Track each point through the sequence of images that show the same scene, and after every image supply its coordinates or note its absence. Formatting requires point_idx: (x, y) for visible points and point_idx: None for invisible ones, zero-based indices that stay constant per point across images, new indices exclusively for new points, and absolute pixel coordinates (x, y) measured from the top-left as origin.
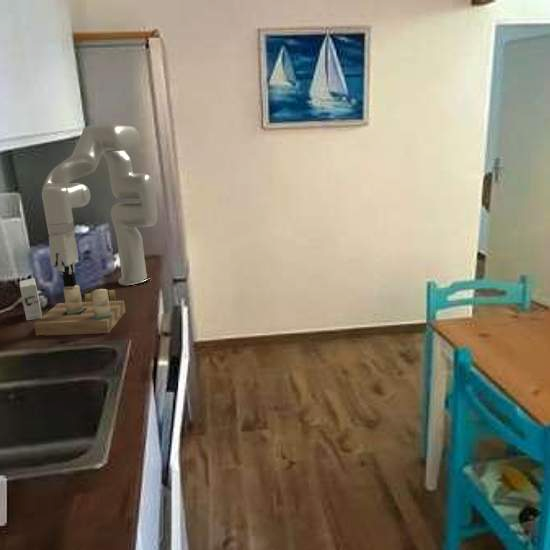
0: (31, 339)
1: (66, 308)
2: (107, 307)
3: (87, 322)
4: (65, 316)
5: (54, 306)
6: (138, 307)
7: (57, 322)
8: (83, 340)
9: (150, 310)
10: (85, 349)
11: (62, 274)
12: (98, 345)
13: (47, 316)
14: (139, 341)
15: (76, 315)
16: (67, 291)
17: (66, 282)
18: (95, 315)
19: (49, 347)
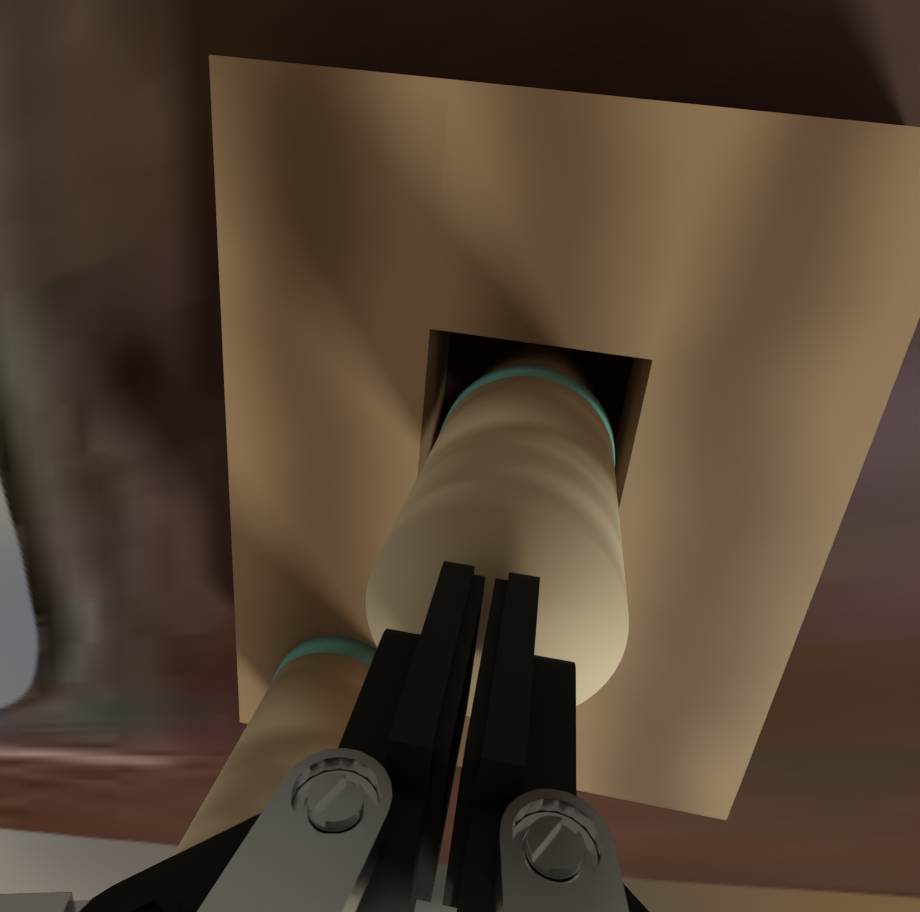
0: (192, 50)
1: (495, 388)
2: None
3: (239, 588)
4: (391, 376)
5: (838, 119)
6: (781, 809)
7: (225, 336)
8: (164, 514)
9: (671, 868)
10: (27, 548)
11: (301, 772)
12: (88, 612)
13: (430, 153)
14: (148, 797)
15: (400, 481)
16: (375, 569)
17: (374, 666)
18: (283, 668)
19: (37, 294)
